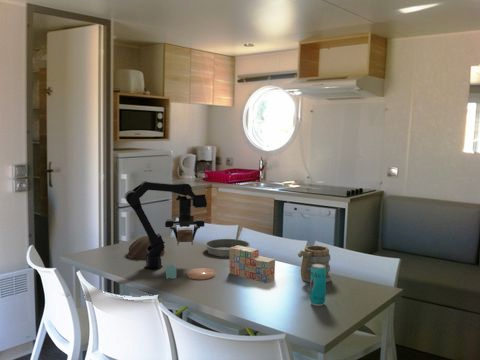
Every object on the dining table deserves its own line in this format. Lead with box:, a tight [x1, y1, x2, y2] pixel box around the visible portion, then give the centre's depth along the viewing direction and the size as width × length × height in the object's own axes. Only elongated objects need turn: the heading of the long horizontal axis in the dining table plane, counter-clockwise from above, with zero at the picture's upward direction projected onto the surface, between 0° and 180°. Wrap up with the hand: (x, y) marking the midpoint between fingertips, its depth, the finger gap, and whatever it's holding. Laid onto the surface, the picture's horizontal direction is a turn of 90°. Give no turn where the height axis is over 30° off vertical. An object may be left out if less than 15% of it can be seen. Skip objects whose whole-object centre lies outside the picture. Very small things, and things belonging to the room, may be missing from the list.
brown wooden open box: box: [176, 227, 194, 246], centre depth 227 cm, size 7×7×7 cm
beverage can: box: [309, 264, 327, 307], centre depth 178 cm, size 6×6×15 cm
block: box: [165, 264, 177, 280], centre depth 210 cm, size 4×4×5 cm
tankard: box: [297, 245, 332, 283], centre depth 206 cm, size 20×13×15 cm, turn 135°
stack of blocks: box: [228, 245, 276, 283], centre depth 211 cm, size 21×6×12 cm, turn 52°
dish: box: [186, 267, 217, 281], centre depth 213 cm, size 13×13×1 cm
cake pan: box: [204, 238, 251, 258], centre depth 255 cm, size 25×25×4 cm
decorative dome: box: [126, 235, 166, 260], centre depth 247 cm, size 19×20×10 cm
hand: (185, 240), depth 228 cm, fingers closed on brown wooden open box, 7 cm apart
